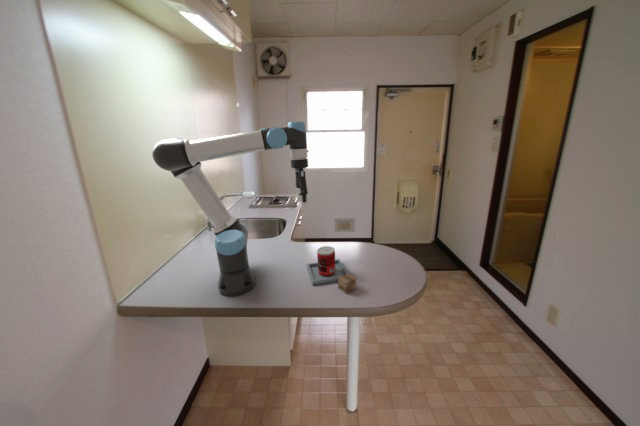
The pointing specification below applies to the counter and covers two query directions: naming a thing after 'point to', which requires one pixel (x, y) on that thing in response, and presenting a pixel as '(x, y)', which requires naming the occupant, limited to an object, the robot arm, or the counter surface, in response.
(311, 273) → the tray
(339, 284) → the walnut block
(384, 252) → the counter surface
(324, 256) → the canned food
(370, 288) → the counter surface
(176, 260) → the counter surface
